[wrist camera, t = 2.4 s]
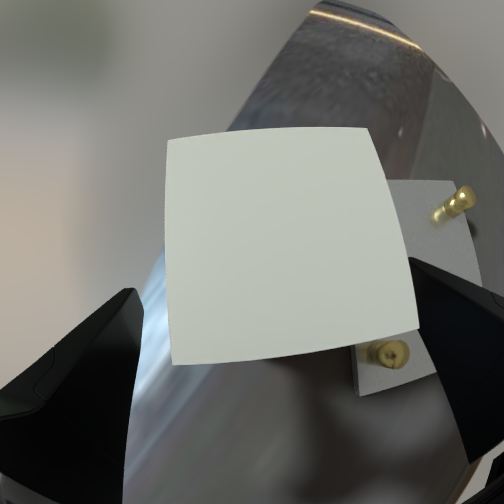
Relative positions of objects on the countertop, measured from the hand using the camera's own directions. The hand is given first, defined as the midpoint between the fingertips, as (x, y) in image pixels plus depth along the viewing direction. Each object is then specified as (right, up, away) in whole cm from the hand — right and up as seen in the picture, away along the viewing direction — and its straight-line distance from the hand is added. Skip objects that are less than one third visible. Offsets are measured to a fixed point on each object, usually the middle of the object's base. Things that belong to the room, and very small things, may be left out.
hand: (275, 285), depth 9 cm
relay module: (0, -2, +8) cm, 9 cm away
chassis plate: (+11, -1, +9) cm, 14 cm away
